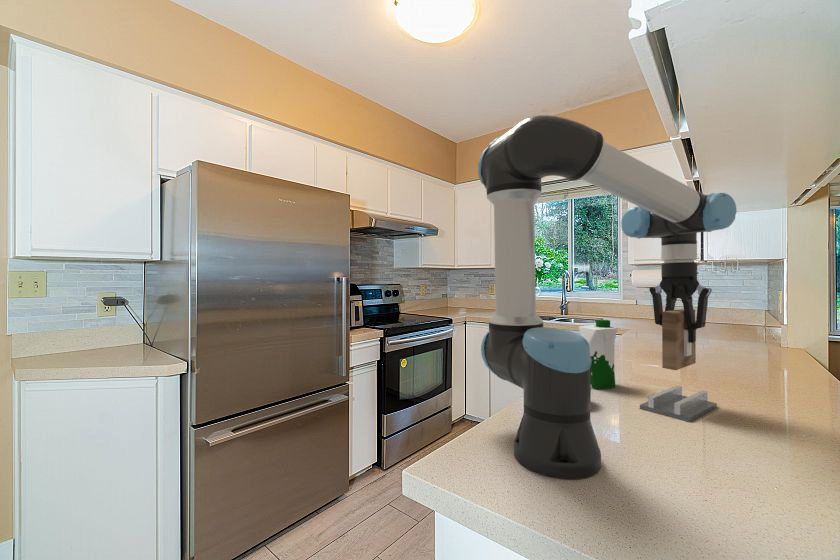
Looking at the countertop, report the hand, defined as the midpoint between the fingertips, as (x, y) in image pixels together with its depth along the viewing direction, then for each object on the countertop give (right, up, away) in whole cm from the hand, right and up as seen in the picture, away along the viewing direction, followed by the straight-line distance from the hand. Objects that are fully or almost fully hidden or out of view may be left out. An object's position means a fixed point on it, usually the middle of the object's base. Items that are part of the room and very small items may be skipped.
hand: (679, 353), depth 97 cm
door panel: (0, -3, 0) cm, 3 cm away
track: (0, -14, 0) cm, 14 cm away
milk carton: (-11, -14, +20) cm, 27 cm away
